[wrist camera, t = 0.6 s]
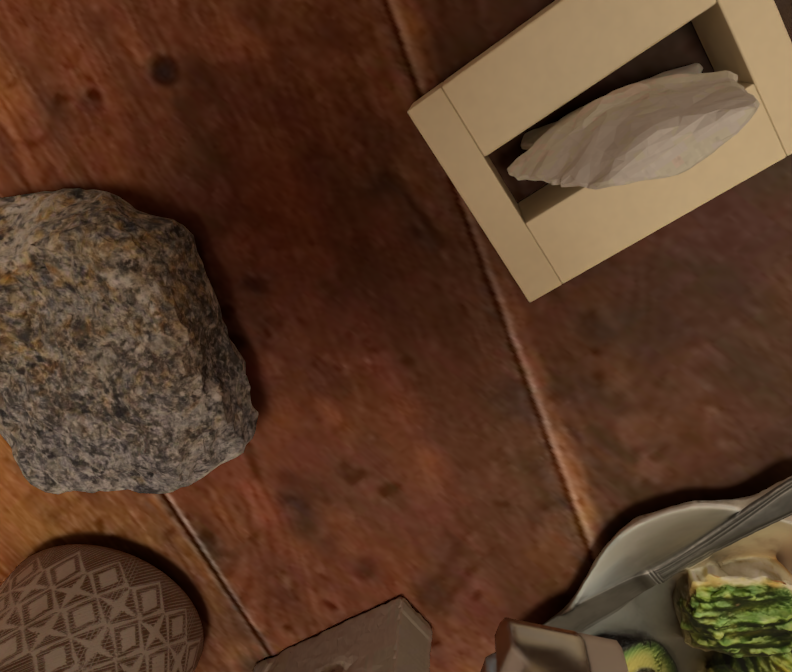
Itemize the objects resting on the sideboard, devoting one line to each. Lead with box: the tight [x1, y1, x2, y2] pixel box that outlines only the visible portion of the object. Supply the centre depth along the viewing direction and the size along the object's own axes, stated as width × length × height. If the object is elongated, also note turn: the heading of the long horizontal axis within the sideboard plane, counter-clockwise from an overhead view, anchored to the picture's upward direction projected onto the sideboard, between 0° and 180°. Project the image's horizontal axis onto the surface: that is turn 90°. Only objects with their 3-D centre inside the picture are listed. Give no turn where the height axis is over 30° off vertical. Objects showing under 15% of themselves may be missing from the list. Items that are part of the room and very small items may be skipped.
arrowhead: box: [507, 63, 760, 190], centre depth 22 cm, size 8×2×10 cm, turn 118°
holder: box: [407, 0, 792, 302], centre depth 24 cm, size 9×12×4 cm
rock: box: [0, 188, 259, 494], centre depth 29 cm, size 13×6×15 cm
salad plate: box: [542, 476, 792, 672], centre depth 34 cm, size 19×18×5 cm
